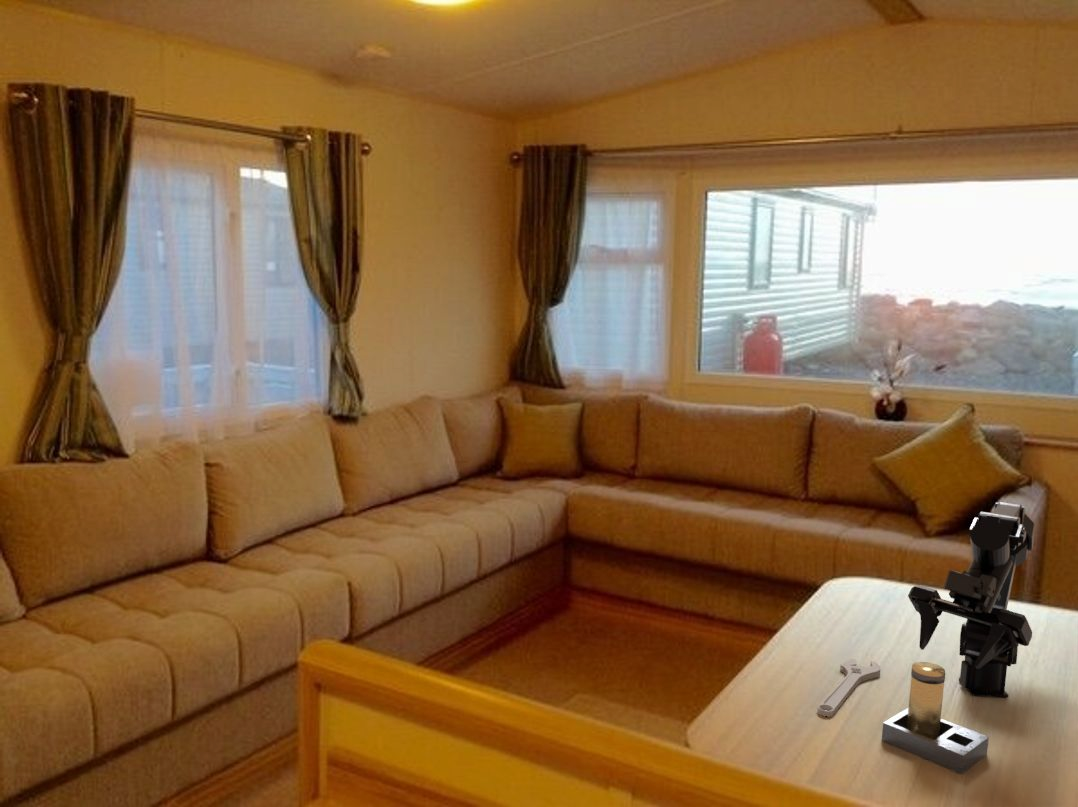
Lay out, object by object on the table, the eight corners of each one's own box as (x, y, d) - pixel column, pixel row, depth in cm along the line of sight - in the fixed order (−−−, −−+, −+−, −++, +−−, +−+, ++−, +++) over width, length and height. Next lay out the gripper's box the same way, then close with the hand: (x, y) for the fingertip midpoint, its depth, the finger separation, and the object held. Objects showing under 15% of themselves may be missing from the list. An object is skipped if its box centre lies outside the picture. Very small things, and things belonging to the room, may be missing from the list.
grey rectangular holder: (986, 755, 144) (988, 737, 143) (961, 774, 138) (963, 755, 138) (908, 723, 153) (910, 706, 153) (881, 740, 148) (883, 722, 147)
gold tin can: (926, 733, 150) (933, 661, 148) (945, 749, 145) (952, 674, 144) (899, 735, 149) (905, 662, 147) (917, 751, 144) (924, 676, 143)
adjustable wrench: (830, 721, 155) (831, 712, 154) (794, 709, 159) (795, 700, 158) (884, 673, 174) (884, 664, 173) (850, 663, 178) (851, 654, 177)
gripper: (918, 539, 158) (879, 615, 153) (1032, 567, 144) (995, 652, 139) (935, 573, 164) (899, 648, 159) (1047, 604, 151) (1012, 686, 145)
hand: (948, 657), depth 150 cm, fingers open, 9 cm apart
